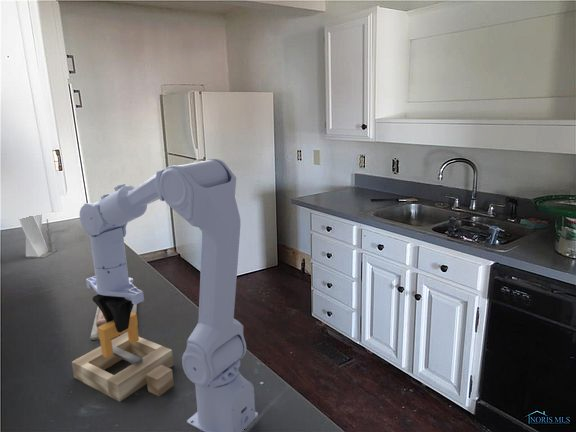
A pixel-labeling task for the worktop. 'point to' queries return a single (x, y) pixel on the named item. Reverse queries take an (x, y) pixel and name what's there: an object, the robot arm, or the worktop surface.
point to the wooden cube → (159, 380)
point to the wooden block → (116, 334)
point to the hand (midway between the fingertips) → (119, 328)
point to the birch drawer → (129, 378)
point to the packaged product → (103, 322)
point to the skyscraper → (36, 237)
